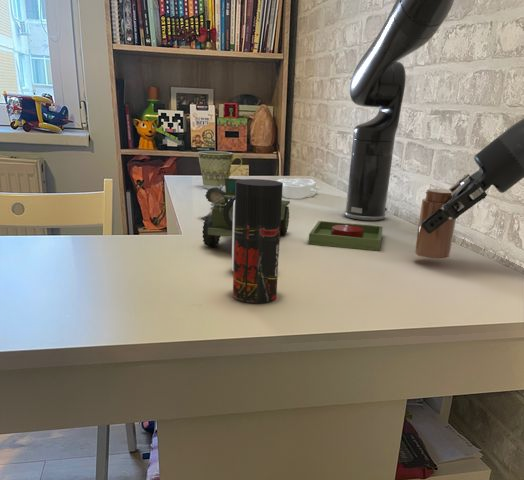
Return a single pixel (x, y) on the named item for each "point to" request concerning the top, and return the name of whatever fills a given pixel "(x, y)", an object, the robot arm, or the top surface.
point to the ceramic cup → (216, 167)
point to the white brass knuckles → (298, 188)
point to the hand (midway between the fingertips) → (424, 225)
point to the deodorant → (256, 239)
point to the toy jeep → (231, 216)
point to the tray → (324, 237)
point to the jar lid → (347, 231)
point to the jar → (441, 237)
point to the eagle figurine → (214, 197)
